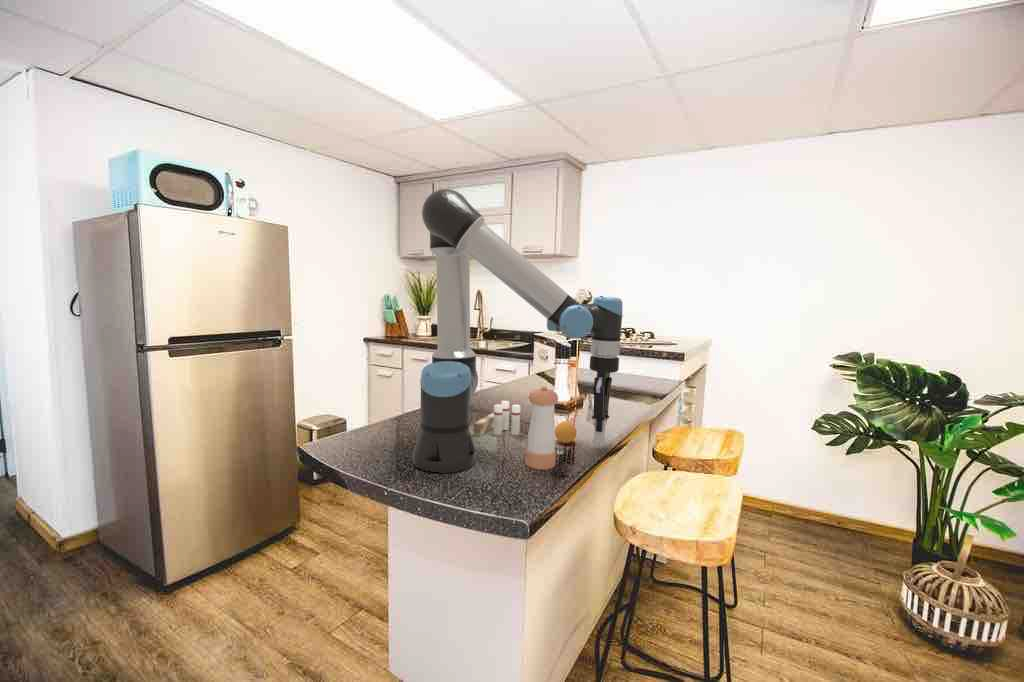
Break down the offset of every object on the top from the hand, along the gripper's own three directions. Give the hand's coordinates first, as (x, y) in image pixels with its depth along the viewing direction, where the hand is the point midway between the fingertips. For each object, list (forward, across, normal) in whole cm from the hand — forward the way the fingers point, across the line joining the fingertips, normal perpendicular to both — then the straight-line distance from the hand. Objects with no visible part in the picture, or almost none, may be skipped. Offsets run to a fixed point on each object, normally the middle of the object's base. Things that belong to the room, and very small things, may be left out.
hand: (599, 442), depth 120 cm
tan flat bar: (+2, 0, +34) cm, 34 cm away
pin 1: (+2, -2, +29) cm, 29 cm away
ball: (-1, 0, +9) cm, 9 cm away
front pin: (+2, 0, +24) cm, 24 cm away
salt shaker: (+2, -17, +11) cm, 20 cm away
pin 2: (+2, +2, +29) cm, 29 cm away
